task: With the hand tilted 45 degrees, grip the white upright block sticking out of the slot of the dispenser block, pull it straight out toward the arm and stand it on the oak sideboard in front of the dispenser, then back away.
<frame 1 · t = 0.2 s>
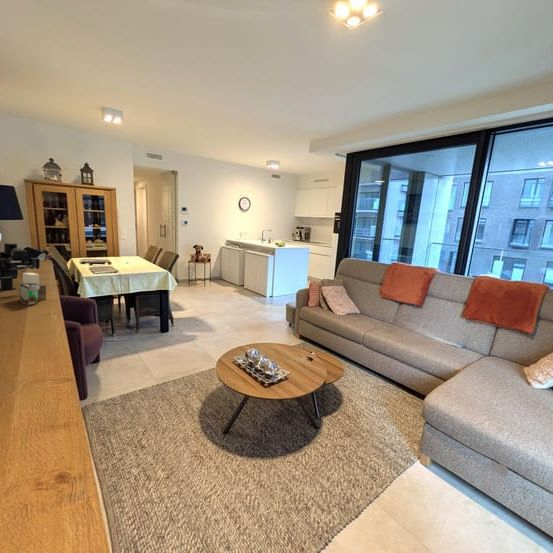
hand: (26, 266, 166), 17 cm above the sideboard, tool horizontal, fingers open, 9 cm apart
food container: (32, 303, 154), on the sideboard, touching dispenser
white upright block: (31, 299, 162), on the sideboard
dispenser: (33, 300, 160), on the sideboard
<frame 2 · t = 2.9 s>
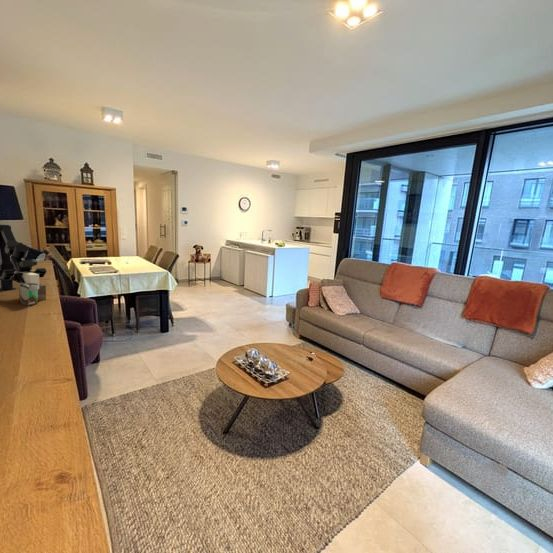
hand: (30, 286, 162), 7 cm above the sideboard, tool tilted 45°, fingers closed on white upright block, 4 cm apart
white upright block: (31, 299, 162), on the sideboard, touching gripper
everything else where it was.
when the fingers open (8 cm above the sideboard, at t = 5.3 s): white upright block drops 1 cm, on the sideboard.
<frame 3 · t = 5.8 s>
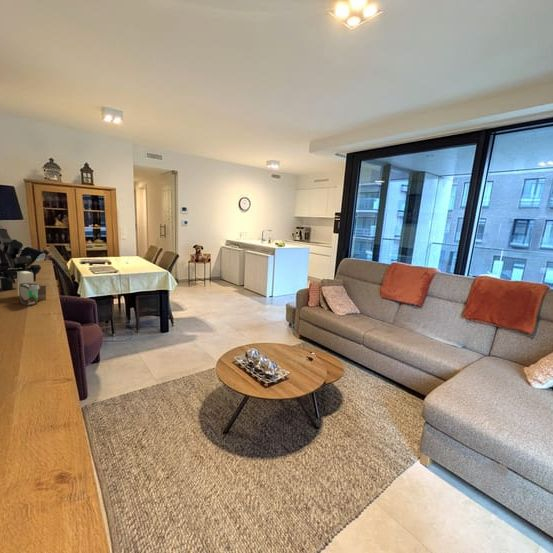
hand: (25, 282, 164), 8 cm above the sideboard, tool tilted 45°, fingers open, 9 cm apart
white upright block: (26, 297, 165), on the sideboard
everything else where it was.
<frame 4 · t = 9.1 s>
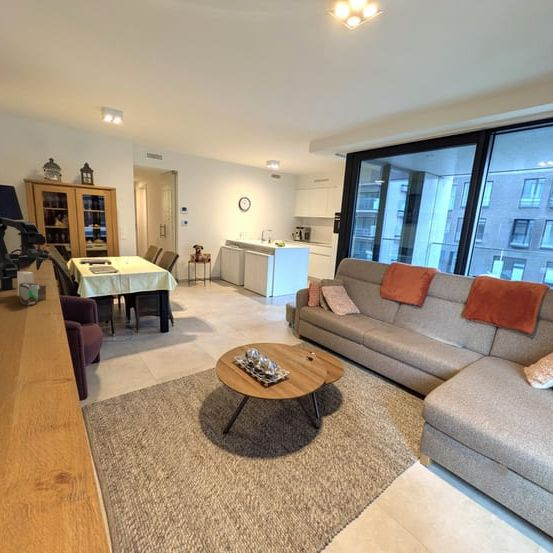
hand: (28, 270, 174), 13 cm above the sideboard, tool pointing down, fingers open, 9 cm apart
nothing on the sideboard moved.
at the end: white upright block inside the target area (0.6 cm from its centre), on the sideboard; white upright block moved 6.2 cm from its start; the gripper is holding nothing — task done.
